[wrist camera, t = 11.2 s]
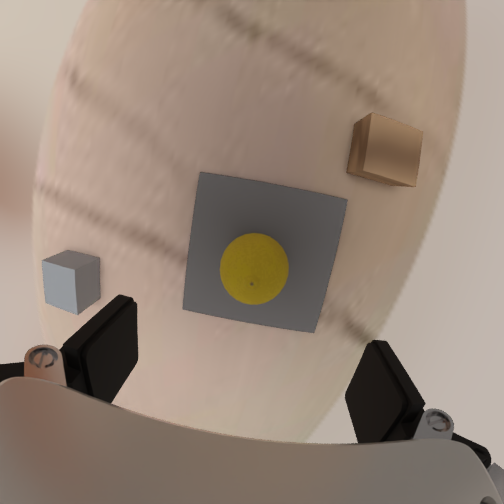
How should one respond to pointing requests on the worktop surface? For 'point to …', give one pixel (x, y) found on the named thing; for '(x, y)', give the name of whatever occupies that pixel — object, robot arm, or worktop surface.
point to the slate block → (71, 280)
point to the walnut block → (385, 151)
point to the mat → (271, 224)
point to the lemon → (254, 268)
